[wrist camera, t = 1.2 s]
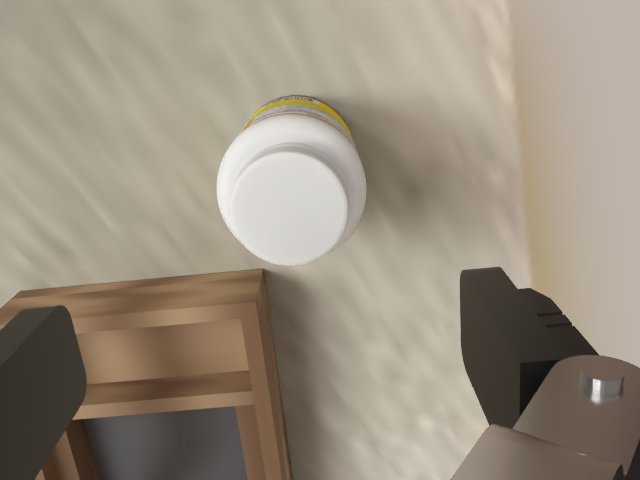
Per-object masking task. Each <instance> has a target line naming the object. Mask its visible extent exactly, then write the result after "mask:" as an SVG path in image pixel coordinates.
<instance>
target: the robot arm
mask: <svg viewBox="0 0 640 480" xmlns="http://www.w3.org/2000/svg"><path fill="white" fill-rule="evenodd" d="M460 317H461V348H462V356H463V361H464V366H465V369H466V372H467V374H468V377H469V379H470V381H471V384H472V386H473V388H474V391H475V393H476V395H477V398H478V400H479V402H480V404H481V407H482V409H483V411H484V414H485V416H486V418H487V421H488V423H489V425H490V426H489V427H488V428H487V429H486V430H485V431H484V433H483V434H482V436H481V437H480V438H479V440H478V441H477V443H476V444H475V446H474V447H473V448H472V450H471V451H470V453H469V454H468V455H467V457H466V458H465V460H464V461H463V462H462V464H461V465H460V467H459V468H458V469H457V471H456V472H455V474H454V475H453V477H452V478H451V479H450V480H640V368H638V367H637V366H635V365H633V364H630V363H628V362H625V361H623V360H619V359H615V358H611V357H606V356H600V355H599V354H598V353H597V352H596V351H595V350H594V349H593V347H592V346H591V345H590V344H589V343H588V341H587V340H586V339H585V338H584V337H583V336H582V335H581V333H580V332H579V331H578V330H577V329H576V328H575V327H574V326H572V323H571V322H570V321H569V319H568V318H567V317H566V316H565V315H562V311H561V310H560V309H559V308H558V307H557V305H556V304H555V303H554V302H553V301H552V300H551V299H550V298H548V297H546V296H544V295H543V294H541V293H539V292H537V291H535V290H533V289H531V288H526V289H517V288H516V287H515V285H514V284H513V283H512V281H511V280H510V279H509V277H508V276H507V275H506V274H505V272H504V271H503V270H502V268H501V267H492V268H481V269H470V270H462V272H461V275H460ZM86 387H87V378H86V372H85V368H84V364H83V360H82V356H81V352H80V349H79V345H78V341H77V337H76V333H75V330H74V326H73V322H72V318H71V315H70V313H69V311H68V309H67V308H66V307H65V306H63V305H56V306H45V307H34V308H25V309H22V310H21V311H20V312H19V313H18V314H17V315H16V316H15V317H14V318H13V319H12V320H10V321H9V322H8V323H7V324H6V325H5V326H4V327H3V328H2V329H1V330H0V480H35V478H36V477H37V475H38V473H39V472H40V470H41V469H42V467H43V465H44V464H45V462H46V461H47V459H48V457H49V456H50V454H51V453H52V451H53V449H54V448H55V446H56V445H57V443H58V441H59V440H60V438H61V437H62V435H63V434H64V432H65V430H66V429H67V427H68V426H69V424H70V422H71V421H72V419H73V418H74V416H75V414H76V413H77V411H78V410H79V408H80V406H81V405H82V403H83V401H84V398H85V394H86Z"/></svg>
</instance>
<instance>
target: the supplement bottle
mask: <svg viewBox="0 0 640 480" xmlns="http://www.w3.org/2000/svg"><path fill="white" fill-rule="evenodd" d="M366 194H367V186H366V177H365V172H364V168H363V165H362V162H361V159H360V157H359V154H358V151H357V148H356V146H355V143H354V140H353V137H352V135H351V132H350V130H349V128H348V126H347V124H346V123H345V121H344V120H343V118H342V117H341V116H340V115H339V114H338V113H337V112H336V111H335V110H334V109H333V108H332V107H330V106H329V105H328V104H326V103H324V102H322V101H320V100H318V99H315V98H312V97H308V96H301V95H291V96H284V97H280V98H277V99H275V100H272V101H270V102H268V103H267V104H265V105H263V106H262V107H261V108H259V109H258V110H257V111H256V112H255V113H254V114H253V115H252V117H251V118H250V119H249V120H248V122H247V123H246V124H245V126H244V127H243V129H242V130H241V131H240V133H239V134H238V136H237V137H236V138H235V140H234V141H233V142H232V144H231V145H230V146H229V148H228V150H227V151H226V153H225V155H224V157H223V159H222V162H221V164H220V167H219V171H218V177H217V200H218V205H219V209H220V212H221V215H222V217H223V219H224V221H225V223H226V225H227V227H228V228H229V230H230V231H231V232H232V234H233V235H234V236H235V237H236V238H237V239H238V240H239V241H240V242H241V243H242V244H243V245H244V246H245V247H246V248H247V249H248V250H249V251H250V252H252V253H253V254H254V255H256V256H257V257H259V258H260V259H262V260H264V261H267V262H270V263H273V264H277V265H282V266H298V265H303V264H307V263H311V262H313V261H315V260H317V259H319V258H321V257H323V256H324V255H326V254H328V253H330V252H331V251H333V250H334V249H336V248H337V247H339V246H340V245H341V244H342V243H343V242H345V241H346V240H347V238H348V237H349V236H350V235H351V234H352V232H353V231H354V230H355V228H356V226H357V225H358V223H359V221H360V219H361V216H362V214H363V210H364V207H365V202H366Z"/></svg>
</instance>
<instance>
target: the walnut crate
mask: <svg viewBox="0 0 640 480" xmlns="http://www.w3.org/2000/svg"><path fill="white" fill-rule="evenodd" d="M56 305H63V306H65V307H66V308H67V309H68V311H69V313H70V315H71V318H72V322H73V326H74V330H75V333H76V337H77V341H78V345H79V349H80V352H81V356H82V360H83V364H84V368H85V372H86V378H87V387H86V394H85V398H84V401H83V403H82V405H81V406H80V408H79V410H78V411H77V413H76V414H75V416H74V418H73V419H72V421H71V422H70V424H69V426H68V427H67V429H66V430H65V432H64V434H63V435H62V437H61V438H60V440H59V441H58V443H57V445H56V446H55V448H54V449H53V451H52V453H51V454H50V456H49V457H48V459H47V461H46V462H45V464H44V465H43V467H42V469H41V470H40V472H39V473H38V475H37V477H36V478H35V480H293V478H292V471H291V463H290V456H289V449H288V442H287V435H286V428H285V421H284V414H283V407H282V399H281V392H280V385H279V378H278V371H277V364H276V357H275V350H274V343H273V336H272V328H271V321H270V314H269V307H268V300H267V293H266V286H265V279H264V272H263V269H255V270H244V271H233V272H223V273H212V274H201V275H190V276H179V277H168V278H157V279H147V280H136V281H125V282H114V283H103V284H92V285H81V286H71V287H60V288H49V289H38V290H27V291H20V292H19V293H18V294H16V295H15V296H14V297H13V298H12V299H11V300H10V301H8V302H7V303H6V304H5V305H4V306H3V307H2V308H1V309H0V330H1V329H2V328H3V327H4V326H5V325H6V324H7V323H8V322H9V321H10V320H12V319H13V318H14V317H15V316H16V315H17V314H18V313H19V312H20V311H21V310H22V309H25V308H34V307H45V306H56Z"/></svg>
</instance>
